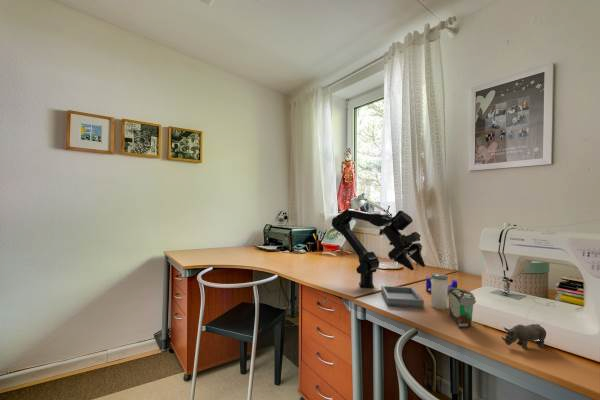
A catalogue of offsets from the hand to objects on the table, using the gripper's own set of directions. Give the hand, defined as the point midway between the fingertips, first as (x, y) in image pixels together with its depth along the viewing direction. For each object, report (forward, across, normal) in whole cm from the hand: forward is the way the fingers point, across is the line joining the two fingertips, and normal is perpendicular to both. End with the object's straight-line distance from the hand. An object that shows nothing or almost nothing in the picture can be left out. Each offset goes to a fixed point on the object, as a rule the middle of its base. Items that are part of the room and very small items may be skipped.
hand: (418, 268), depth 112 cm
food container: (+23, -8, -5) cm, 25 cm away
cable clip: (+10, +19, +9) cm, 23 cm away
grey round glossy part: (+15, 0, +3) cm, 15 cm away
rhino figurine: (+34, -12, -17) cm, 40 cm away
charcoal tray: (+6, -5, +13) cm, 15 cm away
